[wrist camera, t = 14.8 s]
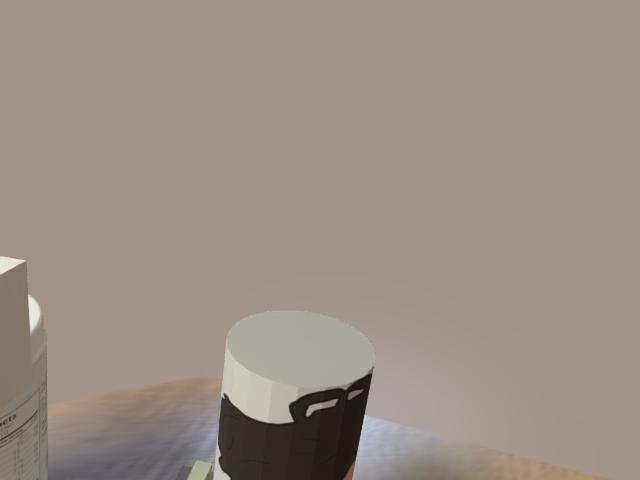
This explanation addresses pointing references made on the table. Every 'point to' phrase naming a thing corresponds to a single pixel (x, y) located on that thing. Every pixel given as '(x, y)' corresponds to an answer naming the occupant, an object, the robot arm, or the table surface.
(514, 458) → the table surface
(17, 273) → the robot arm
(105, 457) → the table surface
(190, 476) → the holder
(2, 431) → the supplement tub
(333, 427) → the white printed cylinder
